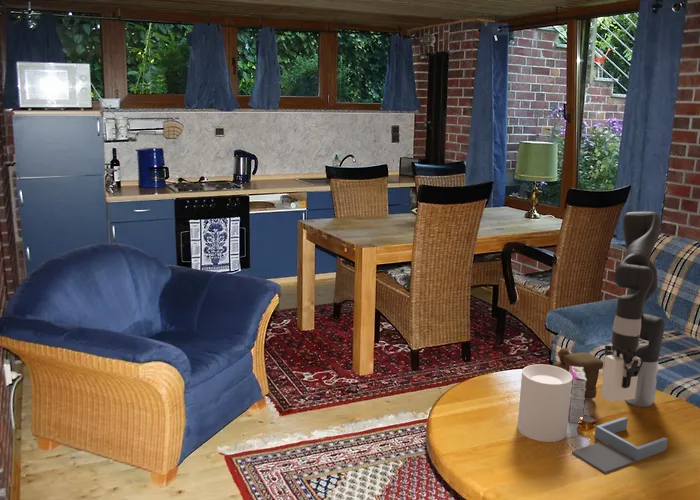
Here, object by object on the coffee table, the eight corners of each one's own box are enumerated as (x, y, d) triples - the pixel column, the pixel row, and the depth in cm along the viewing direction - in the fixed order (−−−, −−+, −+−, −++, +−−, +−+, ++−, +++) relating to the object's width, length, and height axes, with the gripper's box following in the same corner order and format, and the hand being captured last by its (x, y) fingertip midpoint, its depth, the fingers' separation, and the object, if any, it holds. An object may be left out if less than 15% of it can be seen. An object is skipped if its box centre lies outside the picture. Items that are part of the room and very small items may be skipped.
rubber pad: (600, 443, 221) (600, 441, 221) (634, 462, 210) (634, 460, 210) (571, 453, 215) (571, 451, 215) (605, 473, 204) (605, 471, 204)
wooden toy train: (600, 403, 249) (606, 360, 245) (575, 408, 245) (580, 365, 241) (564, 381, 267) (568, 341, 263) (540, 385, 263) (544, 345, 259)
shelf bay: (623, 427, 232) (624, 416, 231) (666, 450, 218) (667, 438, 217) (594, 437, 225) (595, 426, 224) (636, 461, 211) (638, 449, 210)
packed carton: (600, 395, 209) (605, 355, 206) (624, 392, 212) (629, 353, 209) (610, 402, 205) (616, 361, 202) (634, 398, 208) (640, 358, 205)
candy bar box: (564, 408, 245) (569, 365, 241) (579, 409, 244) (583, 366, 240) (567, 422, 234) (572, 378, 230) (583, 424, 233) (588, 379, 229)
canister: (569, 424, 233) (575, 369, 228) (562, 446, 219) (568, 388, 214) (522, 414, 240) (527, 360, 235) (512, 434, 225) (517, 378, 221)
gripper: (600, 323, 209) (593, 376, 213) (633, 339, 196) (626, 395, 200) (619, 321, 212) (613, 373, 215) (654, 337, 198) (646, 392, 202)
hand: (619, 383), depth 207 cm, fingers closed on packed carton, 4 cm apart
